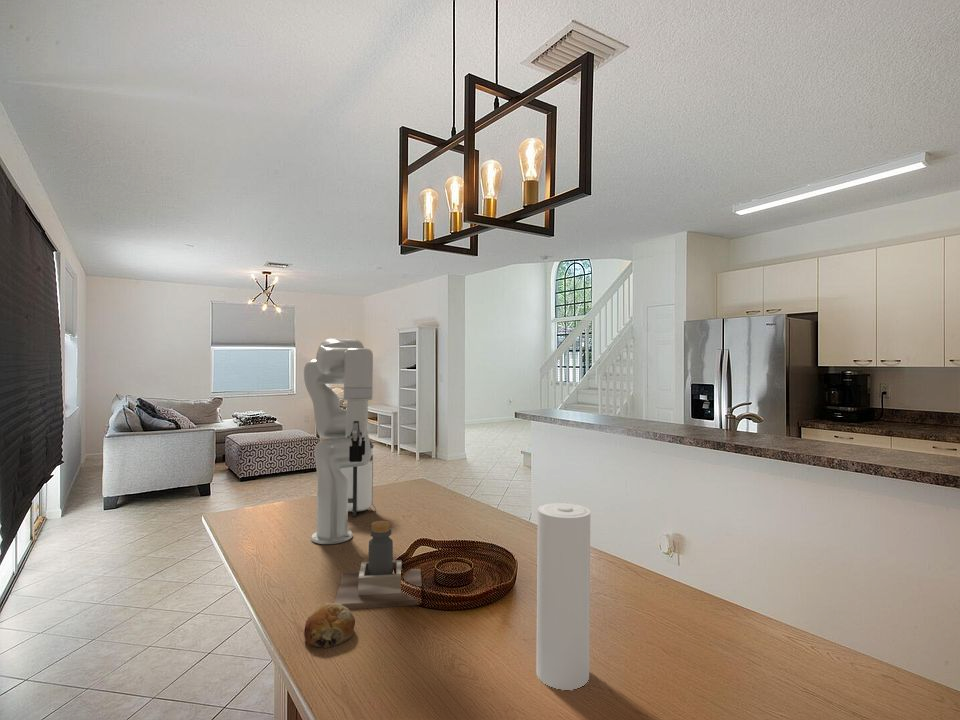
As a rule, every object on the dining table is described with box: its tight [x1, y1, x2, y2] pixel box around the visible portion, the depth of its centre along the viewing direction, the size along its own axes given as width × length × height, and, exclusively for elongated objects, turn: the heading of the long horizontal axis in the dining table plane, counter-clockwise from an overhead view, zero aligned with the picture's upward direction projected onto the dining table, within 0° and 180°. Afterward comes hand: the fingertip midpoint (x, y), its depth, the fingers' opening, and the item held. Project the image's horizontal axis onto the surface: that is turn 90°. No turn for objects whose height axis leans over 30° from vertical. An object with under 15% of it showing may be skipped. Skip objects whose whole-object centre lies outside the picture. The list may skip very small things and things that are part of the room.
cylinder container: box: [535, 502, 591, 691], centre depth 92 cm, size 9×9×30 cm
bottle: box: [368, 520, 394, 576], centre depth 126 cm, size 6×6×15 cm
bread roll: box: [303, 602, 356, 649], centre depth 105 cm, size 10×10×8 cm
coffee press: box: [340, 439, 376, 518], centre depth 191 cm, size 17×16×30 cm
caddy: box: [333, 559, 423, 610], centre depth 126 cm, size 18×20×5 cm
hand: (357, 458), depth 137 cm, fingers open, 9 cm apart
